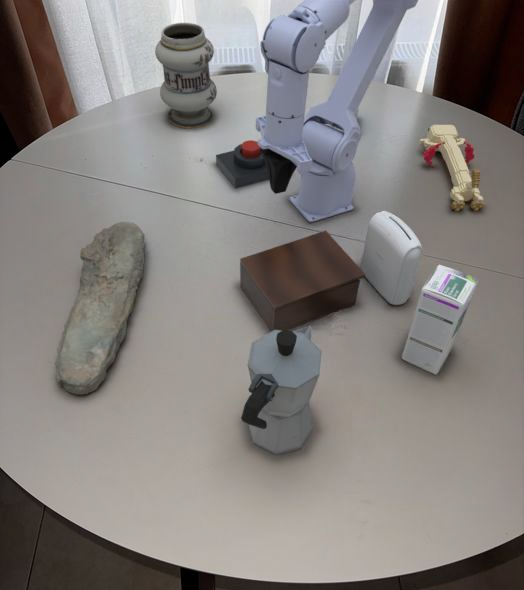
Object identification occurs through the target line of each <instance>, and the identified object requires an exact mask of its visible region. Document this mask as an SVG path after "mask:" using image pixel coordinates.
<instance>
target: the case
mask: <svg viewBox="0 0 524 590" xmlns="http://www.w3.org/2000/svg"><path fill="white" fill-rule="evenodd" d="M239 262H240V261H239ZM239 279H240V280H239V281H240V282H239V283H240V288H241V290H242V291H243V293H244V294H245V295H246V297H247V298H248V300H249V302H250V303H251V304H252V306H253V307H254V309H255V310H256V311H257V313H258V315H259V316H260V318H261V319H262V320H263V322H264V324H265V325H266V326H267V327H268V329H269V331H270V332H272V331H273V330H281V331H283V330H288V331H289V330H290V329H294V328H296V327H299V326H301V325H304V324H307V323H310V322H312V321H316V320H318V319H320V318H323V317H326V316H328V315H331V314H334V313H337V312H340V311H342V310H345V309H348V308H350V307H354V306H355V305H356V301H357V297H358V291H359V288H360V283H361V279H358V280H356V281H353V282H350V283H348V284H345V285H342V286H339V287H337V288H334V289H331V290H329V291H326V292H323V293H320V294H318V295H315V296H312V297H310V298H307V299H304V300H301V301H299V302H296V303H293V304H291V305H288V306H285V307H282V308H280V309H277V310H275V309H274V308H273V307H272V305H271V304H270V302H269V301H268V300H267V298H266V297H265V296H264V294H263V293H262V291H261V290H260V289H259V287H258V286H257V284H256V283H255V282H254V280H253V279H252V277H251V276H250V275H249V273H248V272H247V270H246V269H245V268H244V266H243V265H242V263H241V262H240V263H239Z"/></svg>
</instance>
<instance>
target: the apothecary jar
mask: <svg viewBox="0 0 524 590" xmlns="http://www.w3.org/2000/svg"><path fill="white" fill-rule="evenodd" d="M154 53H155V57H156V59H157V61H158V62H159V63H160V64H161V65H162V70H163V80H164V81H163V82H162V84H161V86H160V89H159V96H160V98H161V100H162V102H163V103H164V104H165V105H166V106H168V107H169V108H171V109H170V110H169V111H168V114H167V115H168V121H169V123H171V124H172V125H174V126H176V127H178V128H181V129H198V128H201V127H204V126H206V125H208V124H210V122H212V119H213V116H214V114H213V112H212V110H211V109H210V108H208V107H209V106H210V105H211V104H212V103H213V102H214V101H215V100H216V98H217V95H218V88H217V86H216V83H215V82H214V81H213V80H212V79H211V74H210V62H211V61H212V59H213V57H214V55H215V48H214V45H213V44H212V42H211V41H210V40H209V39H208V38H207V37H206V35H205V29H204V28H203V27H202V26H201V25H199V24H196V23H192V22H175V23H172V24H169V25H166V26H165V27H164V28H163V29H162V30H161V37H160V40H158V42H157V43H156V46H155V49H154Z"/></svg>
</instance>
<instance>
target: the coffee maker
mask: <svg viewBox="0 0 524 590" xmlns="http://www.w3.org/2000/svg"><path fill="white" fill-rule="evenodd" d="M312 328H313V327H312V326H311V325H307V326H304V327H302V328H300V329H296V330H289V329H288V330H283V331H281V330H273V331H272V332H271V331H270V332H268V333H266V334H264V335H262V336H261V337H259V338H258V339H256V340H253V341H252V342H251V346H250V351H249V356H248V360H247V368H248V373H249V377H250V382H251V383H250V385H249V387H248V389H247V390H248V392H249V393H250V395H249V396H248V398H247V399H246V402H245V403H244V407H243V410H242V414H241V417H240V418H241V421H242V422H244V423H245V424H247V426H248V430H249V433H250V438H251V441H252V443H253V445H256V446H258V447H260V448H262V449H263V450H265V451H267V452H268V453H271V454H273V455H275V456H277V455H282V454H286V453H291V452H296V451H301V450H302V448H303V447H304V445H305V444H306V442H307V440H308V438H309V437H310V435H311V434H312V432H313V423H312V414H311V408H310V407H311V406H310V402H311V399H312V396H313V393H314V390H315V388H316V386H317V383H318V380H319V377H320V374H321V363H322V353H323V352H322V350H321V349H320V348H319V347H318V346H317V344H315V343H314V342H313V329H312Z"/></svg>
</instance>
